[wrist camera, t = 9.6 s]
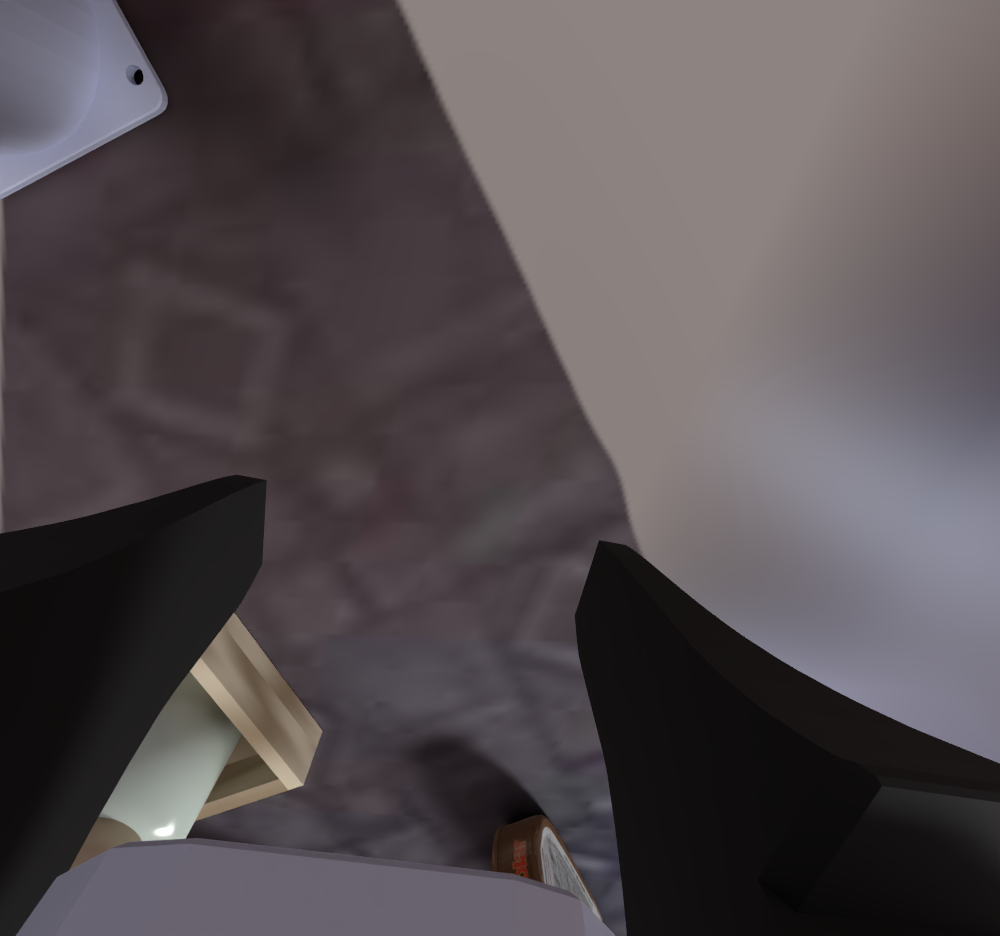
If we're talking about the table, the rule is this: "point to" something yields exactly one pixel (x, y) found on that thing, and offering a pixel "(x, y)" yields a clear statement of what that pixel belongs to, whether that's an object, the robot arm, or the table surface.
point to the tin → (539, 857)
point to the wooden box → (255, 721)
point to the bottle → (167, 774)
